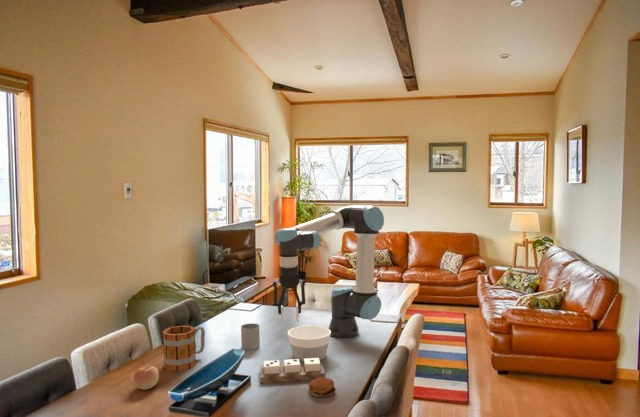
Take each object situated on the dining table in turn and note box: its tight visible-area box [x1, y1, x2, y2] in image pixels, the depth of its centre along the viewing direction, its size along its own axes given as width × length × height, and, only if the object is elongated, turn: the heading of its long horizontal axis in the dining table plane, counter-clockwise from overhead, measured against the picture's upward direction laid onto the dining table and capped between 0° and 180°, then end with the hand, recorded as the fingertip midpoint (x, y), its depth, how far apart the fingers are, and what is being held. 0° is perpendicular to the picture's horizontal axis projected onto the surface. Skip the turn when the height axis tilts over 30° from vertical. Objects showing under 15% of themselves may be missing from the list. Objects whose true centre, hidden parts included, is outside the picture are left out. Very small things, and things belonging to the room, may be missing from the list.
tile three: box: [263, 359, 280, 374], centre depth 190 cm, size 6×6×4 cm
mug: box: [162, 325, 206, 372], centre depth 206 cm, size 20×14×15 cm
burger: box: [308, 377, 336, 398], centre depth 176 cm, size 10×9×5 cm
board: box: [259, 361, 326, 385], centre depth 192 cm, size 25×12×2 cm, turn 97°
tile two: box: [283, 358, 301, 373], centre depth 191 cm, size 6×6×4 cm
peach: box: [133, 365, 160, 391], centre depth 182 cm, size 9×9×8 cm
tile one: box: [303, 358, 321, 372], centre depth 192 cm, size 6×6×4 cm
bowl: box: [286, 324, 331, 362], centre depth 212 cm, size 19×19×11 cm
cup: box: [240, 323, 261, 351], centre depth 224 cm, size 8×8×10 cm
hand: (289, 321), depth 200 cm, fingers open, 6 cm apart
